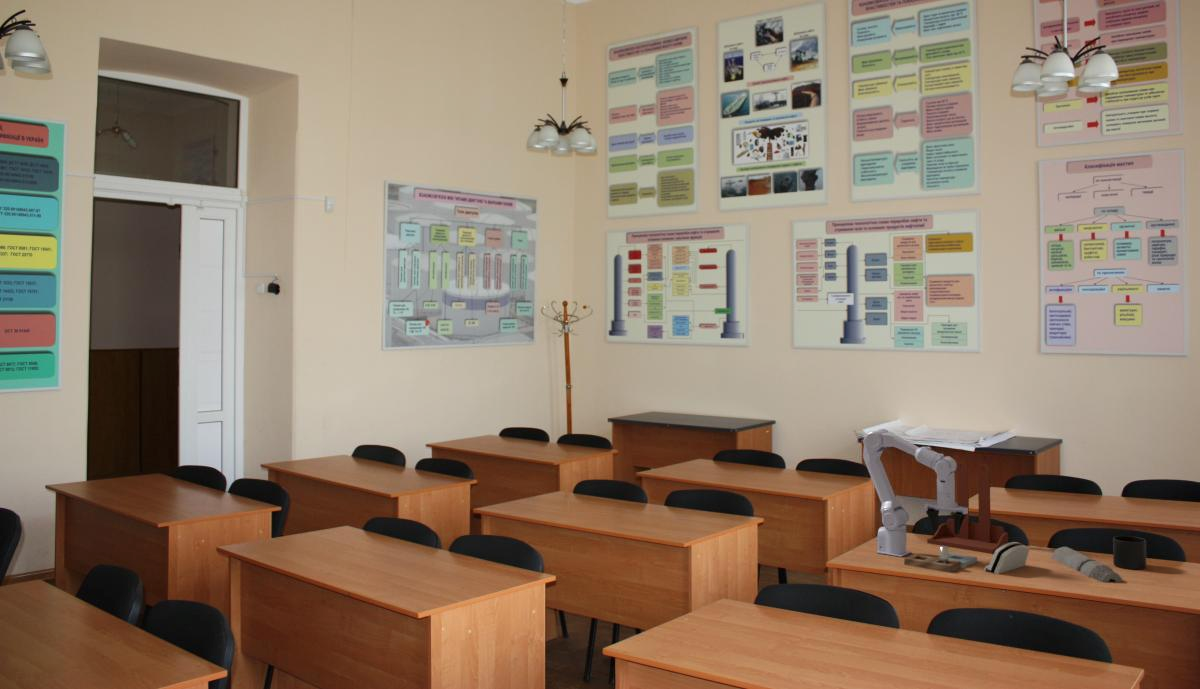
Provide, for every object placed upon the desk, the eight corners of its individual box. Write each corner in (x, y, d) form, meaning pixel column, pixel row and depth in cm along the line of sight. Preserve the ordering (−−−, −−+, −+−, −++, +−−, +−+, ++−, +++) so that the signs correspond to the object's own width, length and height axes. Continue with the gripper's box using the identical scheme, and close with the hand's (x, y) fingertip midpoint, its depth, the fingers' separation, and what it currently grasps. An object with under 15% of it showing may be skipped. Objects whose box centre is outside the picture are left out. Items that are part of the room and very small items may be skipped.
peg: (938, 567, 312) (938, 547, 312) (942, 566, 314) (941, 545, 314) (946, 569, 311) (946, 548, 310) (949, 567, 312) (949, 546, 312)
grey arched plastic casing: (1011, 562, 317) (1020, 536, 314) (1023, 569, 314) (1033, 543, 311) (983, 571, 307) (992, 544, 304) (995, 578, 304) (1005, 551, 301)
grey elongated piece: (1076, 546, 322) (1125, 569, 292) (1076, 558, 322) (1126, 583, 292) (1051, 547, 322) (1098, 570, 292) (1051, 559, 322) (1098, 583, 292)
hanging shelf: (927, 543, 347) (926, 462, 346) (944, 537, 356) (943, 458, 355) (991, 554, 329) (990, 469, 328) (1008, 547, 338) (1007, 464, 337)
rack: (904, 564, 318) (904, 558, 318) (915, 559, 323) (914, 553, 323) (950, 572, 307) (950, 566, 306) (960, 567, 312) (960, 561, 312)
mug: (1127, 559, 317) (1127, 533, 317) (1152, 569, 305) (1152, 541, 305) (1102, 561, 316) (1101, 534, 316) (1126, 570, 304) (1126, 543, 304)
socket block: (935, 562, 319) (935, 558, 319) (948, 556, 326) (948, 552, 326) (965, 567, 312) (964, 562, 312) (977, 561, 320) (977, 556, 319)
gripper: (971, 493, 318) (972, 533, 318) (930, 488, 328) (931, 527, 329) (962, 496, 313) (963, 536, 313) (921, 491, 323) (921, 530, 324)
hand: (946, 532), depth 321 cm, fingers open, 7 cm apart
